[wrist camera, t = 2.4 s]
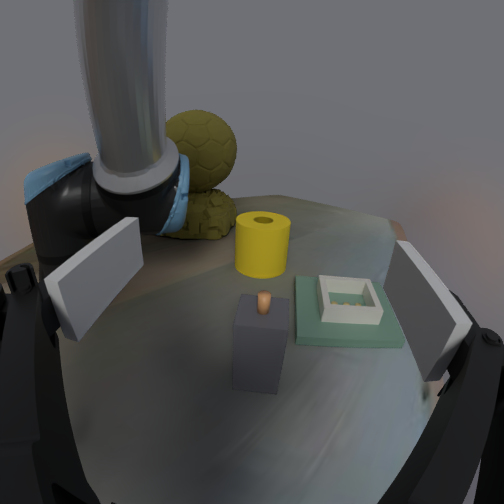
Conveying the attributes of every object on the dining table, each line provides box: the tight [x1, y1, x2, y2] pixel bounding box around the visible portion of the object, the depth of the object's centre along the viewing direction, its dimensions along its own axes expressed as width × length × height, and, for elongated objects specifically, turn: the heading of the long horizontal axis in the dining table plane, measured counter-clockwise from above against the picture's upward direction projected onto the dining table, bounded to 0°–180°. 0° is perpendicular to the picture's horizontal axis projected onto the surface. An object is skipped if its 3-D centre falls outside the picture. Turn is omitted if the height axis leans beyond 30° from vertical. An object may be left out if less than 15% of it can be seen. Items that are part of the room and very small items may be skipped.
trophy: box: [160, 110, 237, 240], centre depth 69 cm, size 22×22×30 cm
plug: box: [233, 291, 289, 394], centre depth 29 cm, size 5×5×12 cm
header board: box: [295, 275, 405, 348], centre depth 43 cm, size 16×16×4 cm
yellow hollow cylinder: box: [235, 211, 291, 278], centre depth 55 cm, size 10×10×9 cm
